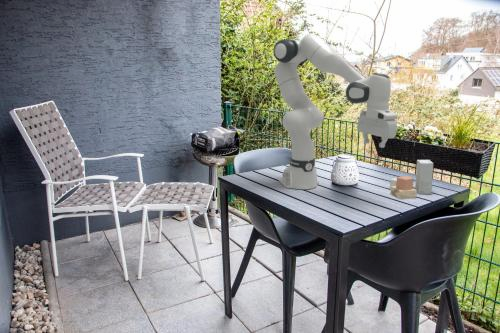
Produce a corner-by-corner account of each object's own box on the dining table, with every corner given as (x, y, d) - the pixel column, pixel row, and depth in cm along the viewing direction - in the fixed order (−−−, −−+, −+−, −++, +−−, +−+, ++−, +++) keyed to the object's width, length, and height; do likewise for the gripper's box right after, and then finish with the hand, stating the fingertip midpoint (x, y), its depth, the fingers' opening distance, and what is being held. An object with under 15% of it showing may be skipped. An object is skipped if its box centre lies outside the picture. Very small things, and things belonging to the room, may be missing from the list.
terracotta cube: (395, 187, 173) (396, 177, 172) (403, 186, 176) (404, 175, 174) (404, 190, 169) (405, 180, 168) (412, 189, 171) (413, 178, 170)
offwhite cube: (389, 189, 184) (390, 179, 182) (395, 187, 187) (395, 177, 185) (398, 191, 180) (399, 181, 179) (404, 189, 183) (405, 179, 182)
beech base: (390, 194, 177) (390, 186, 176) (405, 193, 178) (406, 185, 177) (400, 200, 169) (400, 191, 168) (416, 198, 170) (416, 190, 170)
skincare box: (431, 194, 174) (434, 163, 171) (417, 194, 176) (420, 162, 172) (427, 189, 182) (430, 159, 179) (414, 188, 184) (416, 158, 180)
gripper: (355, 110, 167) (352, 141, 171) (388, 116, 149) (385, 150, 152) (366, 109, 169) (363, 140, 173) (400, 115, 151) (397, 149, 155)
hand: (374, 145), depth 163 cm, fingers open, 8 cm apart
